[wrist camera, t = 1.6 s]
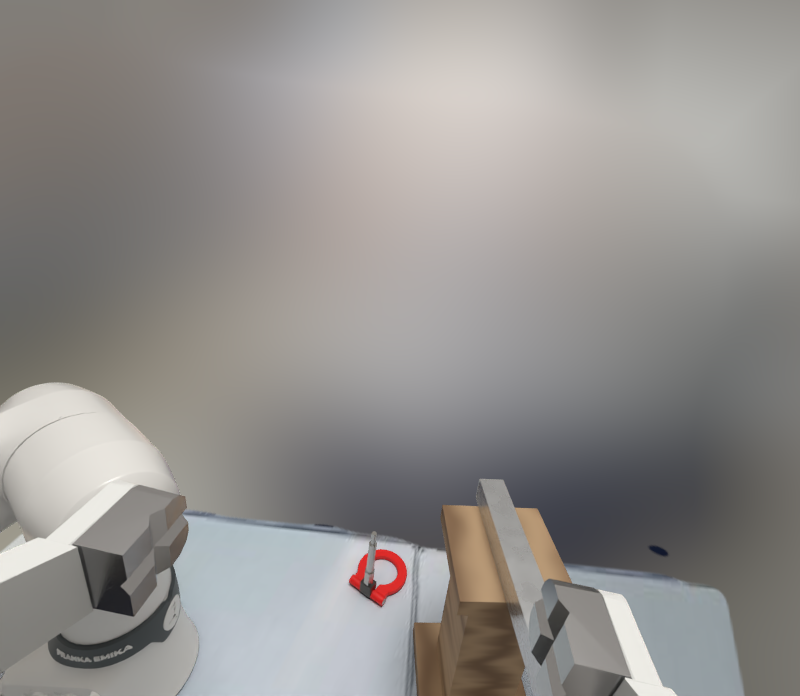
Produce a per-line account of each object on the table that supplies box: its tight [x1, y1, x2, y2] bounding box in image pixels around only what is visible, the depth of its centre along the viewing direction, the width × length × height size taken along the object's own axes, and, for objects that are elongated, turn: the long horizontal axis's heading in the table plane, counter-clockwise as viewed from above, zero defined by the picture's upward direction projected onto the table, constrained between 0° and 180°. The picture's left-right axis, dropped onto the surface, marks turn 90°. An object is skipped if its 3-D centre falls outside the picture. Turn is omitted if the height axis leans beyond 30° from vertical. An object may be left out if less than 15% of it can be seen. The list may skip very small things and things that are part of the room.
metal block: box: [476, 479, 544, 696], centre depth 39 cm, size 3×22×3 cm, turn 2°
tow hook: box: [349, 531, 407, 606], centre depth 65 cm, size 8×13×9 cm
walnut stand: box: [413, 505, 572, 696], centre depth 48 cm, size 14×14×26 cm
